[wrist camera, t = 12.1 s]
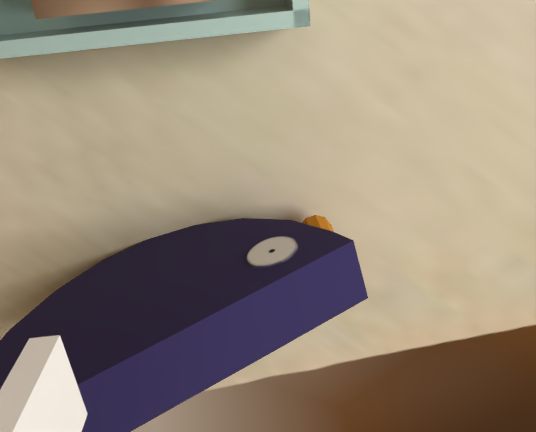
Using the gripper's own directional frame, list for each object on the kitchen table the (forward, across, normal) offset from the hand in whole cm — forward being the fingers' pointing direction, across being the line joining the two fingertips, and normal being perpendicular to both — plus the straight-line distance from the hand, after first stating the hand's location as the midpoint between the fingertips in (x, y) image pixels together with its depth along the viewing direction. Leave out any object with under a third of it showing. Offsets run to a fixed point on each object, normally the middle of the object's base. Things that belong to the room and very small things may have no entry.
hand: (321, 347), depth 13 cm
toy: (+29, -8, -13) cm, 33 cm away
